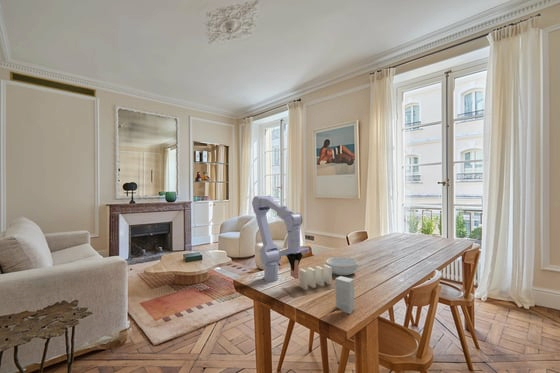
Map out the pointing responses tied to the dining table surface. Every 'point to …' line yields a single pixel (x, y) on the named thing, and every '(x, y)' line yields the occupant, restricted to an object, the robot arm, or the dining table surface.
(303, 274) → the domino
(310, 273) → the domino
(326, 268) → the domino
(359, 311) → the dining table surface
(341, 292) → the skincare box
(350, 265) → the cereal bowl
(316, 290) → the board
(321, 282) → the domino
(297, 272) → the terracotta domino
